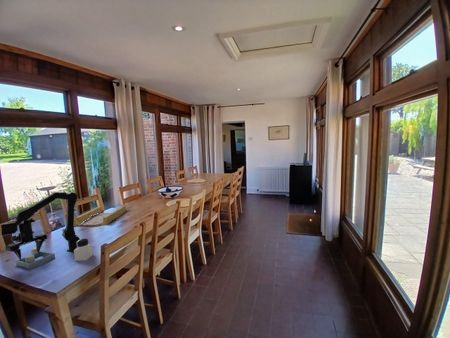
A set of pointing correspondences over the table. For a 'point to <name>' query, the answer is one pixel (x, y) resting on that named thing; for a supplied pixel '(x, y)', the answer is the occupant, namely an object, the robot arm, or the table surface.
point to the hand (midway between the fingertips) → (29, 255)
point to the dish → (37, 262)
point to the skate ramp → (85, 216)
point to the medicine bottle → (83, 250)
